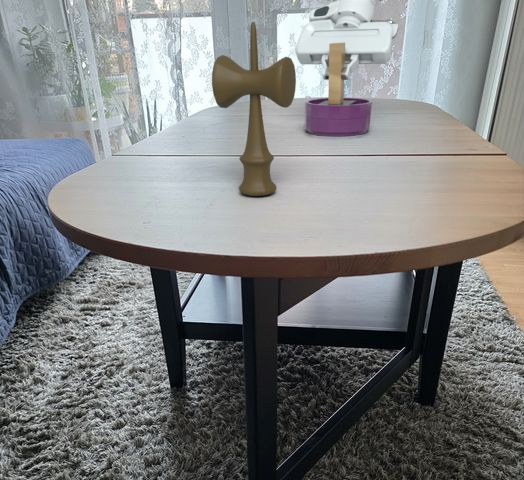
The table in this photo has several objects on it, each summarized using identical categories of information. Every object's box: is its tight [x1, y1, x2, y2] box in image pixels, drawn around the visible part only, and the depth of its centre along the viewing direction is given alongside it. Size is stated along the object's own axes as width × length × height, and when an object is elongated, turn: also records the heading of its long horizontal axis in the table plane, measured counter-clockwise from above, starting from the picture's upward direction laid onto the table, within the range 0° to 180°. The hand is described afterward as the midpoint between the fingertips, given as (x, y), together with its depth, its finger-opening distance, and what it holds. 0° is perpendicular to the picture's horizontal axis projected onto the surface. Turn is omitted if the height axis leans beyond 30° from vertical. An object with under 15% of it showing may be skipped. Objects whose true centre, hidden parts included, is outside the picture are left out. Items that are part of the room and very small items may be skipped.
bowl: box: [304, 97, 373, 137], centre depth 111 cm, size 14×14×6 cm
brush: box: [319, 42, 356, 105], centre depth 106 cm, size 7×7×14 cm
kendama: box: [211, 21, 297, 197], centre depth 65 cm, size 6×10×20 cm, turn 68°
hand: (335, 77), depth 105 cm, fingers closed on brush, 2 cm apart
